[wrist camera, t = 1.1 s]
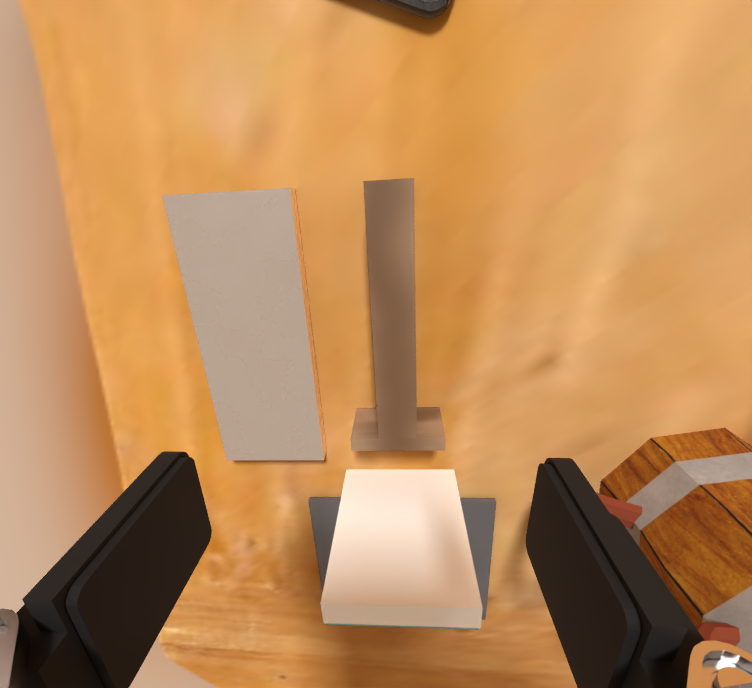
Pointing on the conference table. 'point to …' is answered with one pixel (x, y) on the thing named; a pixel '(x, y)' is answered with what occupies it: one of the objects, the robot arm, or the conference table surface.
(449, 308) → the conference table surface
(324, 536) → the mat
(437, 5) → the phone
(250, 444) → the tool rest
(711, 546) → the mug
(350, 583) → the tile
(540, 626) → the conference table surface
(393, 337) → the brown t-shaped post
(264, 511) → the conference table surface
